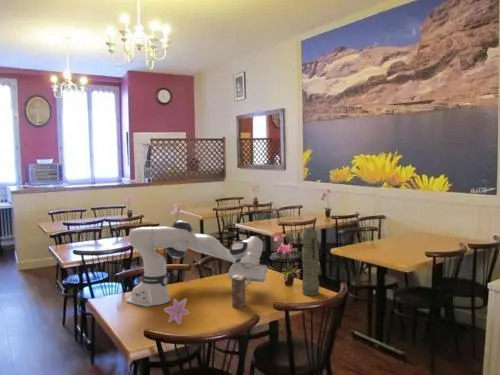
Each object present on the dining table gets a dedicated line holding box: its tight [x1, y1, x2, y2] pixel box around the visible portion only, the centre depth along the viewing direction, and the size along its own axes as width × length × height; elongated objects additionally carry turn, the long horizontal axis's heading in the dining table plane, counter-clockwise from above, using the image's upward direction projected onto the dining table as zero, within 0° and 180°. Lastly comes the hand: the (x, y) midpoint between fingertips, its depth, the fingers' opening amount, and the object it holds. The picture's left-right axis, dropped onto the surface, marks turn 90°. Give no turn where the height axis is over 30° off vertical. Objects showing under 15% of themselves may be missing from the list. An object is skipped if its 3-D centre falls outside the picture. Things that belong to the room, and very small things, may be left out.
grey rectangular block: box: [231, 275, 246, 309], centre depth 216 cm, size 5×5×15 cm
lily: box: [163, 298, 190, 326], centre depth 199 cm, size 12×12×10 cm
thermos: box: [301, 227, 320, 297], centre depth 232 cm, size 9×12×35 cm
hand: (243, 287), depth 223 cm, fingers closed
